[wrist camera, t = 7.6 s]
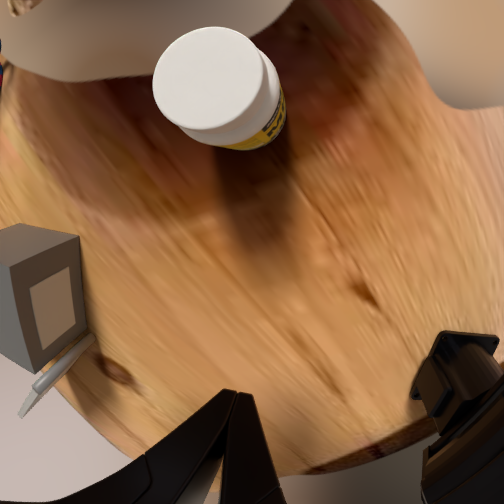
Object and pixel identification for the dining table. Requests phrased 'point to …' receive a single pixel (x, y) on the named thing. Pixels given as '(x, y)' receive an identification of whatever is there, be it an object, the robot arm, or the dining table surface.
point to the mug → (0, 71)
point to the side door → (55, 374)
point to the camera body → (39, 294)
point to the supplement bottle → (220, 89)
